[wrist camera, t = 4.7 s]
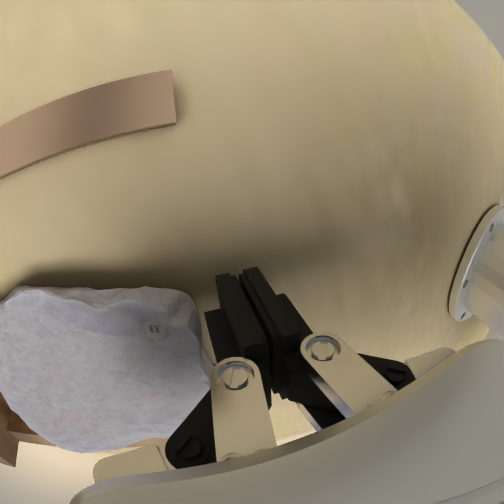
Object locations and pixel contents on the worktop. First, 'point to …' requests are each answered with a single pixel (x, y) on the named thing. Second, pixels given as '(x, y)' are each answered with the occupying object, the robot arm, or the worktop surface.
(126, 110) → the brown u-shaped frame
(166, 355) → the stone block
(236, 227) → the worktop surface
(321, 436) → the robot arm
